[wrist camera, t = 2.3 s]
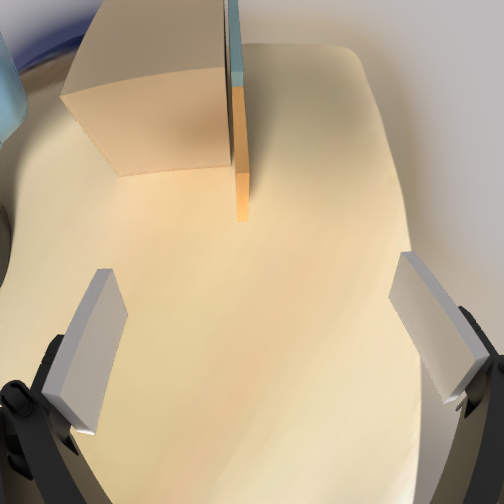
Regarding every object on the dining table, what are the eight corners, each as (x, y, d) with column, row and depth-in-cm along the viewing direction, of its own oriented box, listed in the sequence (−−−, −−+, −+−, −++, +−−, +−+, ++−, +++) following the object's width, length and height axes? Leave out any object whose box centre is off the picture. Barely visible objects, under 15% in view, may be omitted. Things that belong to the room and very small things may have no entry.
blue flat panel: (238, 226, 28) (235, 161, 16) (230, 63, 32) (227, -16, 20) (247, 226, 28) (250, 160, 16) (236, 63, 32) (236, -16, 21)
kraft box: (119, 176, 30) (59, 96, 17) (134, 83, 33) (103, 1, 19) (230, 166, 31) (224, 67, 17) (227, 72, 34) (223, -20, 20)
